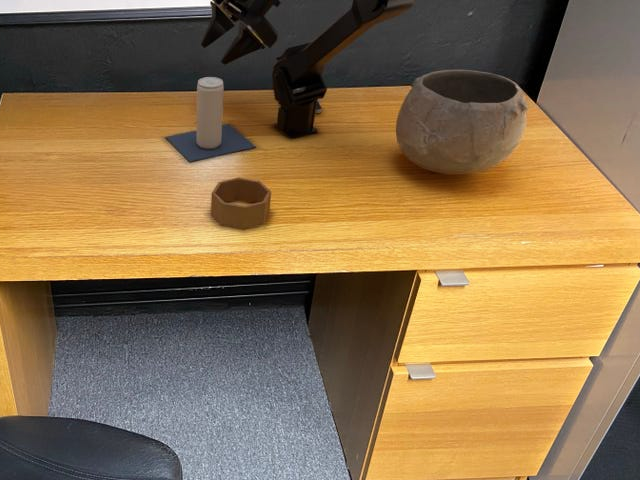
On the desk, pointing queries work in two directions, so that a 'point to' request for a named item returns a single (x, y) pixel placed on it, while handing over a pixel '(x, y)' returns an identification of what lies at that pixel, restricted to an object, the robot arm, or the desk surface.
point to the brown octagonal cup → (238, 213)
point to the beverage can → (209, 112)
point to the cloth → (192, 151)
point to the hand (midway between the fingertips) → (212, 54)
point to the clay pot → (461, 121)
